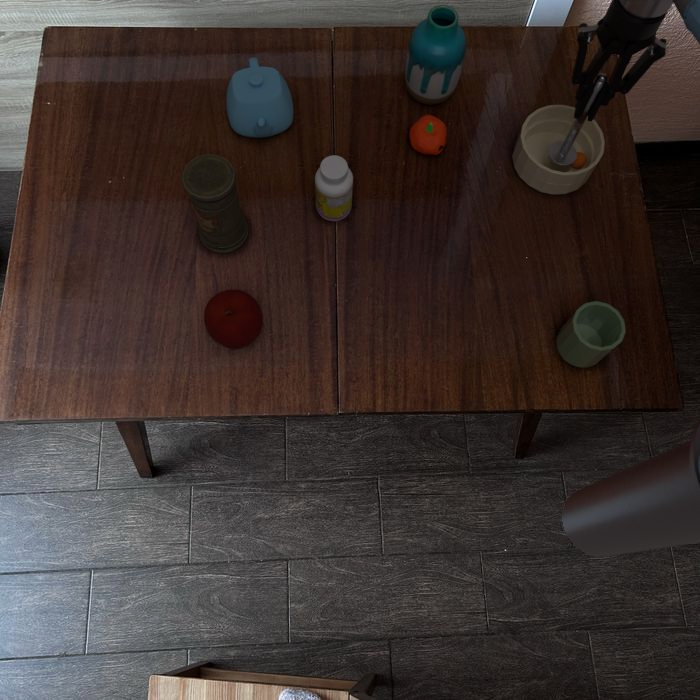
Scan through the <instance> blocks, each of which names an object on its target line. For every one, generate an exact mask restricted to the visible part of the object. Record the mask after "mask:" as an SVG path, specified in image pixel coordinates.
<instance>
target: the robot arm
mask: <svg viewBox="0 0 700 700" xmlns="http://www.w3.org/2000/svg"><path fill="white" fill-rule="evenodd" d="M673 4H674V6H675V8H676V10H677V11H678V13H679V15H680V17H681V19H682V21H683V24H684V26H685V28H686V30H687V31H689V32H690V33H691V34H692V36H693V37H694V39H695V40H696V42H697V43H698V44H699V45H700V0H611V1H610V4H609V6H608V8H607V10H606V12H605V15H604V16H603V17H602V18H601V19H599V21H597V24H594V25H588V23H587V22H581V23H580V24H579V25H578V31H577V38H576V40H577V44H578V48H577V53H576V56H575V62H574V66H573V71H572V76H571V78H572V79H571V84H572V85H578V87H577V88H576V90H575V97H574V101H576V103H575V107H574V108H575V113H574V118H576V119H578V118H579V116H580V115H581V113H582V111H583V109H584V107H585V105H586V103H587V101H588V99H589V97H590V95H591V93H592V89H593V84H594V82H595V80H596V78H597V76H598V75H599V74H600V72H601V70H602V69H603V67H604V65H605V64H606V62H608V61H609V59H610V58H611V56H612V55H616V56H618V57H617V60H616V62H615V65H614V67H613V69H612V72H611V74H610V77H609V79H608V81H606V83H605V84H604V86H603V88H602V90H601V92H600V94H599V96H598V98H597V100H596V101H595V103H594V105H593V107H592V109H591V111H590V113H589V115H588V120H587V121H591V122H592V120H593V119H594V120H595V117H596V115H597V113H598V112H599V109H600V107H601V106H602V107H607V106H608V105H609V103H610V101H611V100H612V99H614V98H615V97H616V93H620V94H621V95H627V94H628V93H630V91H631V90H632V89H633V88H634V86H635V85H636V84H637V83H638V82H639V81H640V79H642V78H643V76H644V75H645V74H646V72H647V71H648V70H649V69H650V68H651V67H652V66H653V64H654V63H656V62H657V61H659V60H661V59H663V58H664V57H665V56H666V53H667V42H668V41H667V39H666V38H660V39H659V37H656V36H657V32H658V31H659V29H660V27H661V25H662V23H663V22H664V20H665V18H666V16H667V14H668V12H669V11H670V10H671V8H672V6H673ZM595 36H596V37H597V39H598V42H599V44H600V46H599V48H598V50H597V51H596V52H595V55H594V56H593V58H592V59H591V61H590V63H589V64H588V66H587V67H586V70H584V65H585V61H586V57H587V55H588V54H587V53H588V48H589V45H590V44H591V42H593V40H594V37H595ZM643 50H644V52H643V53H642V54H641V55H640V56H639V57H638V59H637V60H636V61H635V62H634V63H633V65H632V66H631V67H630V68H629V70H628V71H627V72H626V73H625V71H626V69H627V67H628V65H630V62H631V60H632V58H633V56H634V55H635V54H637V53H639V52H641V51H643ZM698 470H699V474H700V454H699V458H698Z"/></svg>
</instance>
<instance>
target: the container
mask: <svg viewBox="0 0 700 700" xmlns="http://www.w3.org/2000/svg"><path fill="white" fill-rule="evenodd" d="M236 181H237V173H236V169H235V167H234V166H233V164H232V163H231V162H230V161H229V160H228V159H226V158H225V157H223V156H221V155H217V154H212V153H211V154H210V153H208V154H207V153H206V154H202V155H201V154H200V155H198V156H196V157H194V158H192V159H191V160H190V161H188V163H187V164H186V165H185V167H184V169H183V171H182V175H181V183H182V188H183V190H184V191H185V192H186V194H187V195H188V198H189V202H191V204H192V208H193V210H194V213H195V216H196V223H197V227H198V228H197V229H198V236H199V239H200V241H201V243H202V245H203V246H204V247H205V248H207V249H208V250H209V251H211V252H213V253H216V254H222V255H223V254H230V253H231V254H232V253H233V252H235V251H237V250H240V248H241V247H243V246H244V244H245V242H246V241H247V238H248V236H249V223H248V220H247V219H246V216H245V214H244V213H243V212H244V211H243V209H242V207H241V204H240V199H239V195H238V186H237V183H236Z"/></svg>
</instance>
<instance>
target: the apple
mask: <svg viewBox="0 0 700 700" xmlns="http://www.w3.org/2000/svg"><path fill="white" fill-rule="evenodd" d="M203 322H204V323H203V324H204V327H205V330H206V332H207V334H208V335H209V336H210V338H211V339H212V340H213V341H214V342H216V343H217V344H219V345H220V346H222V347H225V348H226V349H227V348H228V349H231V350H232V349H233V350H239V349H244V348H246V347H248V346H249V345H251V344H253V343H254V342H255V341H256V340H257V339H258V337H259V336H260V334H261V332H262V329H263V323H264V317H263V311H262V309H261V306H260V304H259V303H258V301H257V300H256V298H254V296H252V295H251V294H250V293H248V292H246V291H244V290H241V289H234V288H233V289H225V290H223V291H219V292H218V293H216V294H215V295H213V296H212V297H211V298H210V299H209V300H208V302H207V303H206V305H205V308H204V313H203Z"/></svg>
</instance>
